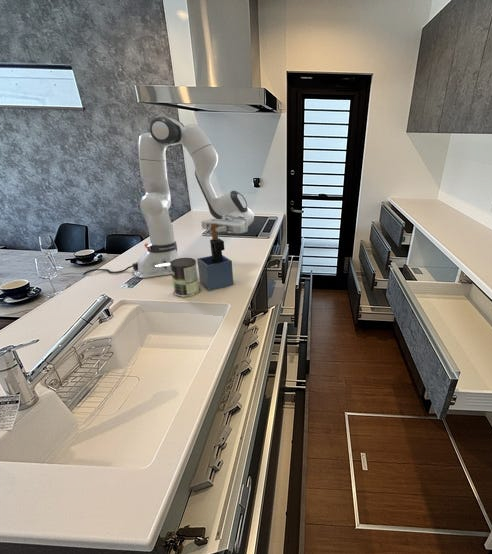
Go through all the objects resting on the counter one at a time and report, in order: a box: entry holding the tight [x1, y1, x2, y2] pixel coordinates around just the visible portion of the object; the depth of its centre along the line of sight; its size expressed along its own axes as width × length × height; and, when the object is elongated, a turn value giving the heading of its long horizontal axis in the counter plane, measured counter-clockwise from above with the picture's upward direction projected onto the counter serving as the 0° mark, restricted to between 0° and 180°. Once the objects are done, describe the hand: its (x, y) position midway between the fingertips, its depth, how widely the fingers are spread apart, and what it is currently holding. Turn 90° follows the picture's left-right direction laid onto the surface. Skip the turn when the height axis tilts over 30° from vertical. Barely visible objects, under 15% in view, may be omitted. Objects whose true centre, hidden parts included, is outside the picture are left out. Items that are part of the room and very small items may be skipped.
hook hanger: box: [209, 223, 225, 263], centre depth 131 cm, size 6×4×17 cm, turn 39°
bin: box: [196, 254, 234, 291], centre depth 140 cm, size 12×12×12 cm
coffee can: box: [170, 257, 200, 298], centre depth 130 cm, size 10×10×14 cm
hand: (213, 229), depth 128 cm, fingers closed on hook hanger, 2 cm apart
